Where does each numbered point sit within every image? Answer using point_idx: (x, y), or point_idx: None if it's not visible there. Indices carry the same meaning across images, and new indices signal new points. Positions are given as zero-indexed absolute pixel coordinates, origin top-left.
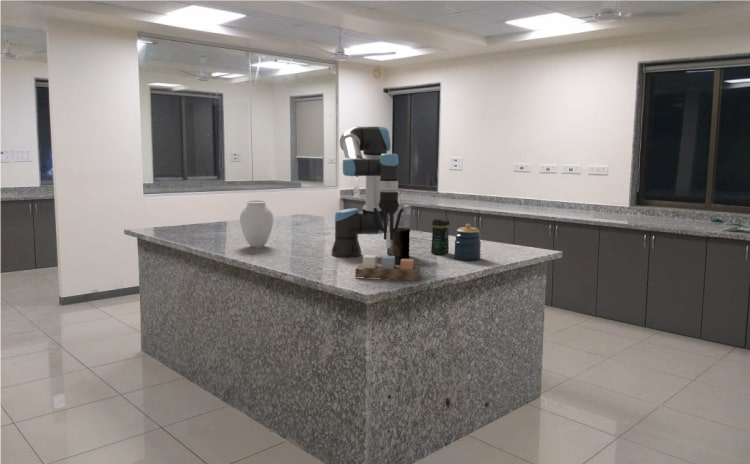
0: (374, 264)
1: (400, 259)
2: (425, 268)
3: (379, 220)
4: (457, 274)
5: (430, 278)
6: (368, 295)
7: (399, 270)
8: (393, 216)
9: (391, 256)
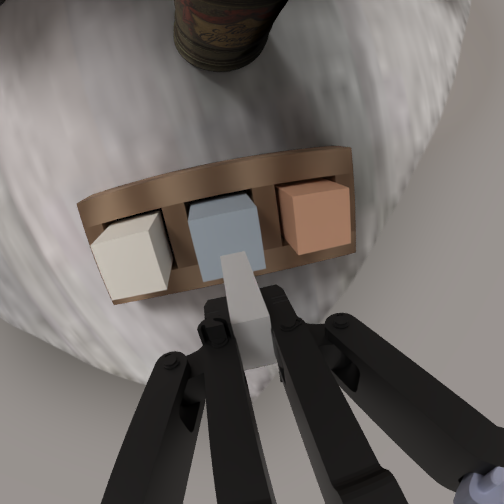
0: (169, 270)
1: (235, 53)
2: (321, 23)
3: (176, 479)
4: (428, 108)
5: (372, 186)
6: None
7: (288, 265)
8: (373, 462)
9: (240, 224)
